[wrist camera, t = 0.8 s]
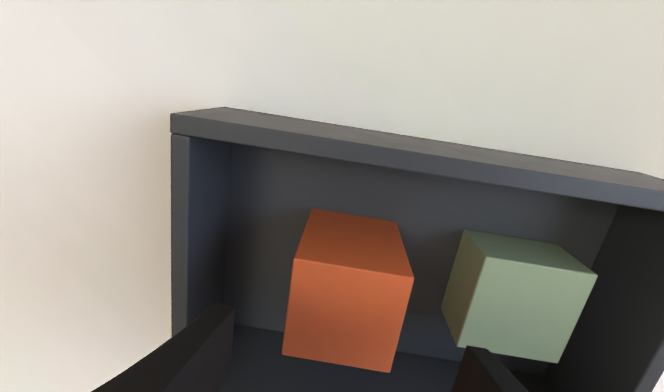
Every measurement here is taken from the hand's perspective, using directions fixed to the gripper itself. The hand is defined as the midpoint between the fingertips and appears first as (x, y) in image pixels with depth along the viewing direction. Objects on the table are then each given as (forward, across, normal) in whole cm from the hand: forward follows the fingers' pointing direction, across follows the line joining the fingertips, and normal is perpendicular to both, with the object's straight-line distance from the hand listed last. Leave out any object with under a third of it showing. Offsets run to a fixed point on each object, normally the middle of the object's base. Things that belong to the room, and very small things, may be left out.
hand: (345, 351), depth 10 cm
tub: (+8, -3, 0) cm, 9 cm away
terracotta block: (+8, 0, +1) cm, 8 cm away
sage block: (+8, -8, +1) cm, 11 cm away
